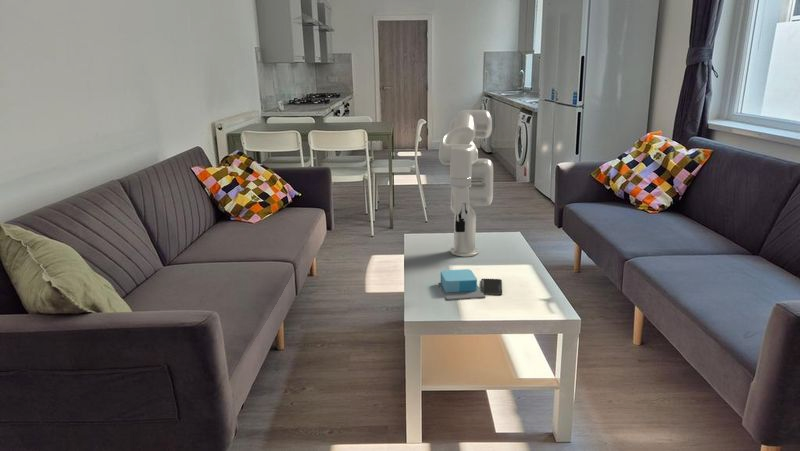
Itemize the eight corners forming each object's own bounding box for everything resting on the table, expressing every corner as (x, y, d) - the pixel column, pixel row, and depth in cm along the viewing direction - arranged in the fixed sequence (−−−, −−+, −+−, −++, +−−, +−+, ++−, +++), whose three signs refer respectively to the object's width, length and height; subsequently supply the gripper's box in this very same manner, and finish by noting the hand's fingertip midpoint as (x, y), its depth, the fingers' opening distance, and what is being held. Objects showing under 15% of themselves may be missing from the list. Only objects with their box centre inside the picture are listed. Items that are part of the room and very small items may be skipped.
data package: (439, 281, 210) (445, 293, 198) (439, 270, 209) (445, 281, 197) (470, 279, 211) (477, 291, 199) (470, 268, 210) (478, 279, 198)
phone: (480, 292, 198) (481, 278, 212) (480, 295, 198) (481, 281, 212) (502, 293, 196) (501, 279, 211) (502, 296, 197) (501, 281, 211)
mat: (438, 284, 208) (438, 282, 208) (474, 282, 210) (474, 280, 210) (446, 300, 193) (446, 298, 193) (485, 298, 195) (485, 296, 195)
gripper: (446, 178, 201) (445, 226, 206) (454, 186, 187) (454, 237, 191) (466, 178, 202) (465, 225, 207) (476, 185, 187) (475, 236, 192)
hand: (460, 231), depth 199 cm, fingers closed
